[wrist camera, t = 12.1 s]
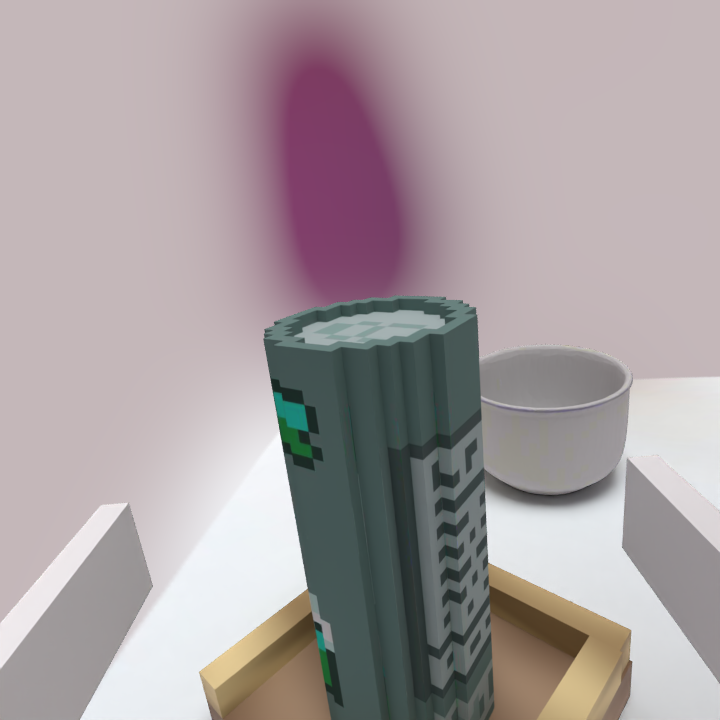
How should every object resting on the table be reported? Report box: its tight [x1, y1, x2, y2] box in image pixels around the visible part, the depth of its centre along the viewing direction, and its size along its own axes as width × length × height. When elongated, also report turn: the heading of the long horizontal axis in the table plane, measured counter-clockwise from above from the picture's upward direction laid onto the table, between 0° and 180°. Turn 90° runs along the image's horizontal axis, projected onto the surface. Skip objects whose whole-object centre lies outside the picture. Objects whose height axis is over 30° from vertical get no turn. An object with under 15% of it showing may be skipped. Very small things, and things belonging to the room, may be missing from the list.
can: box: [264, 296, 494, 720], centre depth 18 cm, size 6×6×15 cm
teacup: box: [479, 344, 633, 495], centre depth 37 cm, size 14×11×8 cm
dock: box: [199, 563, 632, 720], centre depth 20 cm, size 12×12×3 cm
